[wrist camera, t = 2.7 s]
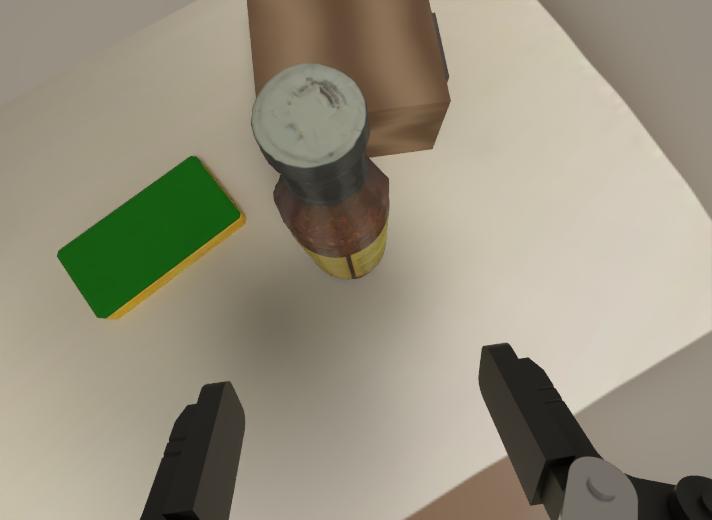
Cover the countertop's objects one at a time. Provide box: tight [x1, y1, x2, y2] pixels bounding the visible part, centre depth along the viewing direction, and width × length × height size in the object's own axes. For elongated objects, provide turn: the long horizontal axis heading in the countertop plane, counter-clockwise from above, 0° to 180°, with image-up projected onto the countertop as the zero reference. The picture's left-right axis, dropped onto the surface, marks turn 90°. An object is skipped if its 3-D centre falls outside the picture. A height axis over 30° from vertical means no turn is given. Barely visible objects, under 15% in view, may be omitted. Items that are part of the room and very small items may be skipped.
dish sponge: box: [57, 156, 246, 319], centre depth 31 cm, size 7×14×2 cm, turn 129°
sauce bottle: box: [251, 63, 389, 279], centre depth 22 cm, size 6×6×20 cm
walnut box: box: [247, 0, 451, 158], centre depth 31 cm, size 15×12×7 cm
